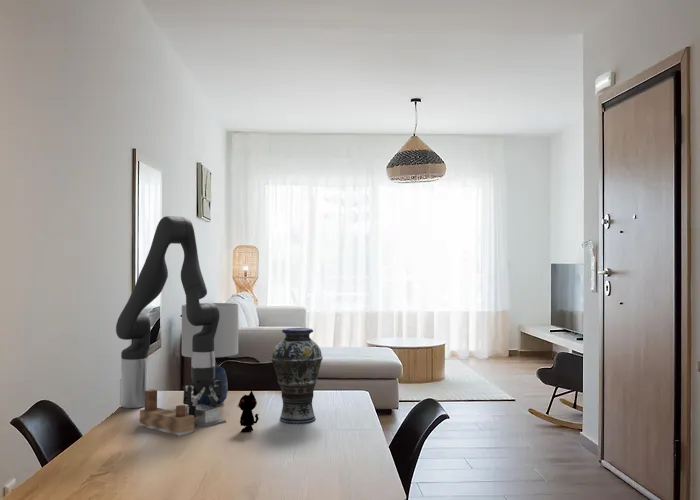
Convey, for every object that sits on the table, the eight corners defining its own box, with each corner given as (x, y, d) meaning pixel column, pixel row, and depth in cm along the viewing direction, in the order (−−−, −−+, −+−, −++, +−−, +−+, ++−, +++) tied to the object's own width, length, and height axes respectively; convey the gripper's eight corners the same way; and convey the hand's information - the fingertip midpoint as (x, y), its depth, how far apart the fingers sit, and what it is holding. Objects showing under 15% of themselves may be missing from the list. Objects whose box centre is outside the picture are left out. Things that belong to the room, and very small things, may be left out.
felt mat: (180, 421, 227) (180, 420, 227) (201, 416, 234) (201, 415, 234) (204, 427, 220) (204, 425, 220) (226, 422, 227) (226, 420, 227)
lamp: (232, 410, 245) (232, 305, 245) (175, 409, 245) (175, 305, 245) (242, 398, 265) (242, 301, 265) (189, 398, 265) (189, 301, 266)
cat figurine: (241, 427, 219) (241, 389, 220) (262, 428, 218) (262, 390, 218) (233, 433, 213) (233, 393, 213) (254, 434, 211) (254, 394, 211)
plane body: (139, 425, 222) (139, 391, 222) (154, 422, 226) (154, 388, 226) (179, 435, 210) (179, 399, 210) (194, 432, 214) (194, 396, 214)
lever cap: (186, 419, 227) (187, 405, 227) (201, 416, 232) (201, 402, 232) (205, 423, 222) (205, 409, 222) (219, 420, 227) (219, 406, 227)
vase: (261, 423, 225) (261, 330, 225) (286, 412, 241) (286, 325, 241) (308, 428, 219) (308, 332, 219) (330, 416, 235) (330, 327, 235)
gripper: (212, 361, 235) (212, 409, 235) (178, 366, 224) (178, 417, 224) (227, 363, 230) (227, 412, 230) (193, 369, 219) (193, 420, 219)
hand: (203, 414), depth 227 cm, fingers open, 8 cm apart
